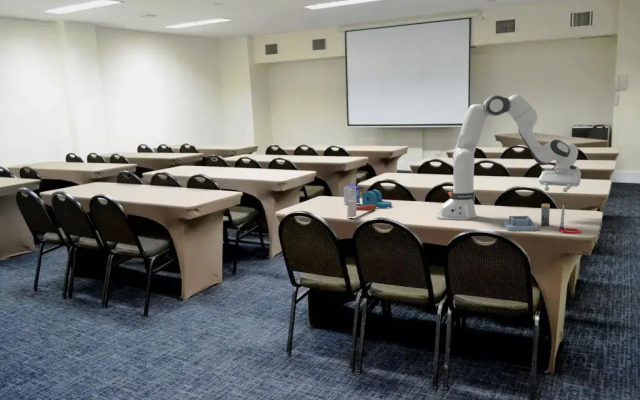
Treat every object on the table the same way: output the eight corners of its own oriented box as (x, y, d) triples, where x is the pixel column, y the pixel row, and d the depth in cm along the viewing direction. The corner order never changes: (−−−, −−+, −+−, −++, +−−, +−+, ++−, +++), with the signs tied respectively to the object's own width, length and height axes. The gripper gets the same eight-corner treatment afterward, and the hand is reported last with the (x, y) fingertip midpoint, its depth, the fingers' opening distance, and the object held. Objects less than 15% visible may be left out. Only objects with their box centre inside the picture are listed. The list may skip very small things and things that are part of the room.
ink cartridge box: (360, 203, 350) (359, 182, 348) (356, 205, 346) (355, 184, 343) (348, 203, 356) (347, 182, 353) (343, 204, 351) (343, 183, 349)
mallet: (371, 199, 328) (347, 200, 303) (376, 200, 326) (352, 200, 301) (371, 216, 328) (346, 218, 304) (376, 216, 326) (351, 219, 302)
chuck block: (508, 230, 256) (508, 220, 255) (503, 224, 269) (503, 215, 269) (537, 230, 253) (538, 220, 252) (531, 224, 267) (531, 214, 266)
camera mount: (362, 207, 338) (361, 191, 336) (369, 204, 347) (369, 189, 345) (387, 209, 328) (386, 192, 327) (394, 206, 337) (393, 190, 335)
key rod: (542, 226, 261) (542, 205, 260) (540, 224, 265) (540, 203, 263) (550, 226, 261) (550, 204, 259) (548, 224, 264) (548, 203, 263)
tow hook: (579, 230, 251) (558, 229, 253) (581, 204, 248) (560, 203, 251) (582, 235, 243) (560, 233, 246) (584, 208, 240) (562, 207, 243)
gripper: (541, 165, 279) (533, 186, 274) (581, 167, 265) (574, 188, 260) (544, 173, 283) (537, 193, 278) (584, 174, 269) (577, 196, 264)
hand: (555, 191), depth 269 cm, fingers open, 8 cm apart
